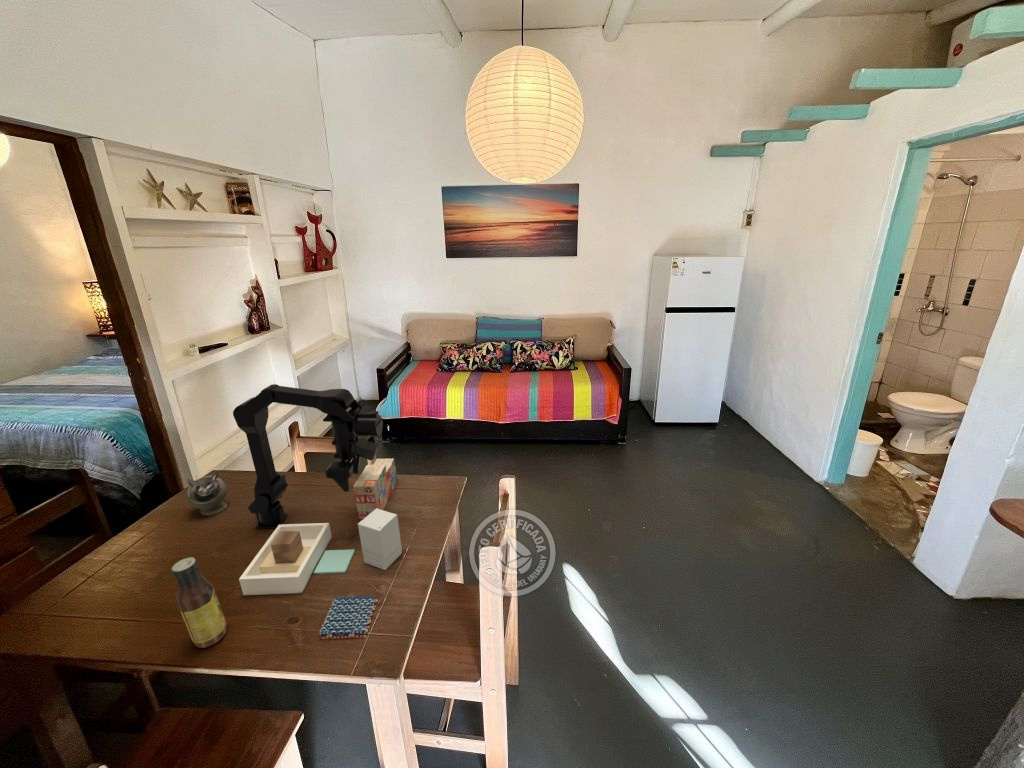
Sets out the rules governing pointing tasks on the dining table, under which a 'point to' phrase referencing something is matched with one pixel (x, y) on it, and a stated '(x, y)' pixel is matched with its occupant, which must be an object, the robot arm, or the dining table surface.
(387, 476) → the stack of blocks
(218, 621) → the sauce bottle
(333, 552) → the teal pad
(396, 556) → the supplement box
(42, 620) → the dining table surface
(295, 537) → the walnut block
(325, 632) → the woven mat
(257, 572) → the crate
